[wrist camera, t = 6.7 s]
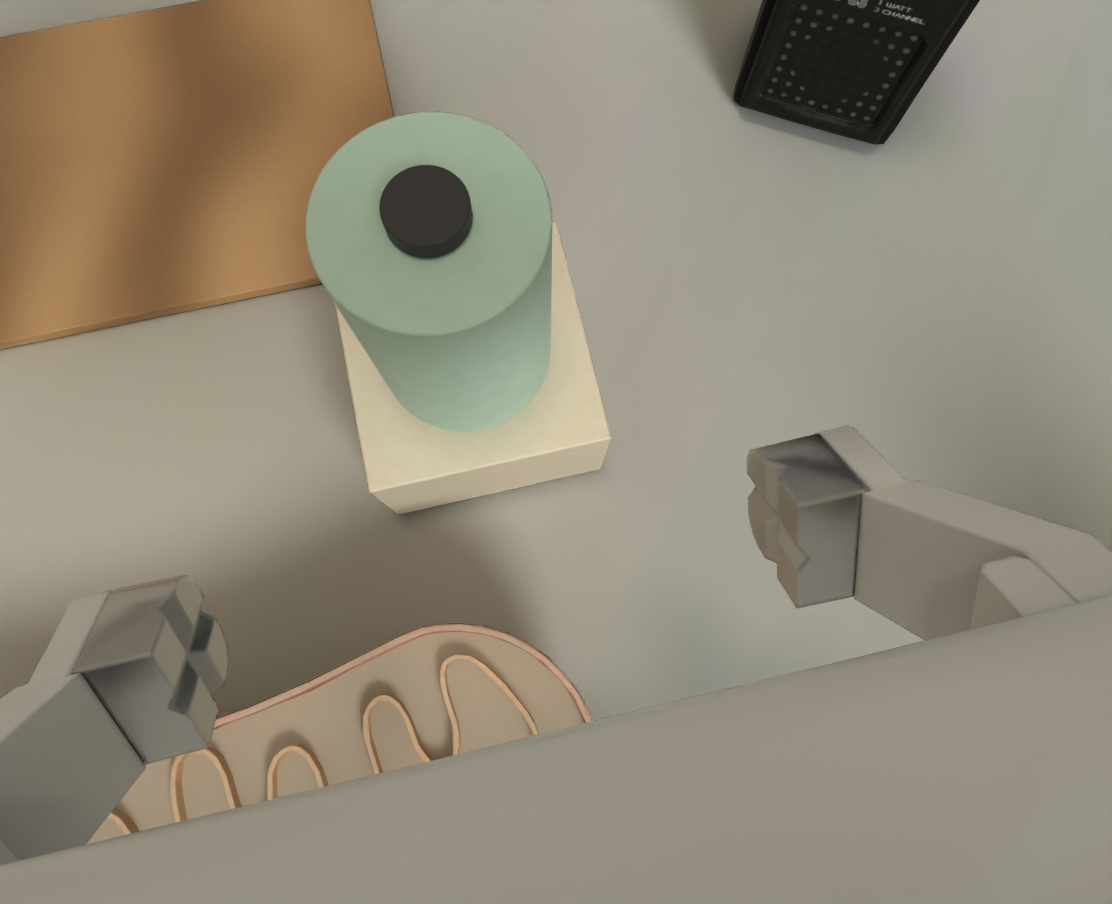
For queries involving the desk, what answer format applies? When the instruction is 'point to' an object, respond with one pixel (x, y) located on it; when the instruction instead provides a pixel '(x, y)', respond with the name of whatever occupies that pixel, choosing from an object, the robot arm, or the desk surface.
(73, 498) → the desk surface
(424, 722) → the anatomical model
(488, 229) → the blender
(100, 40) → the cork mat
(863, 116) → the portable radio
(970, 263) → the desk surface
